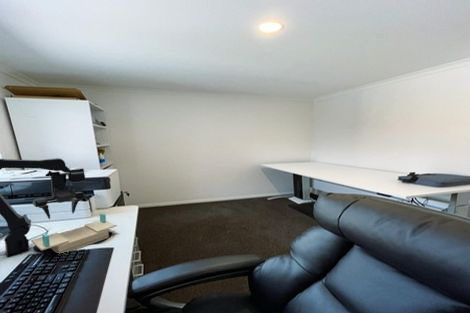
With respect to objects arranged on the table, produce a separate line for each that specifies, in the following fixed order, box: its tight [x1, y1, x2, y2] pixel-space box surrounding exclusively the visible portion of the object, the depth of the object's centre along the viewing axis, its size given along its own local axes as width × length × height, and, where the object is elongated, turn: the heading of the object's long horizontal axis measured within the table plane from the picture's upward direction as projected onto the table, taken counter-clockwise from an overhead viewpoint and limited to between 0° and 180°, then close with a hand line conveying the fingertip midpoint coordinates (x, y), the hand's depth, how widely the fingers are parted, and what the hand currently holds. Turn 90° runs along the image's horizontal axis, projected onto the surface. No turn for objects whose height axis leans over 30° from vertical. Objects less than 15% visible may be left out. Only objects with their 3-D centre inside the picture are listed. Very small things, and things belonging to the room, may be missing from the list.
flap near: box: [31, 232, 69, 251], centre depth 94 cm, size 9×15×5 cm, turn 56°
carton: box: [50, 225, 110, 255], centre depth 103 cm, size 20×16×4 cm
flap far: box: [84, 212, 118, 232], centre depth 111 cm, size 9×15×5 cm, turn 56°
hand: (61, 215), depth 103 cm, fingers open, 9 cm apart
